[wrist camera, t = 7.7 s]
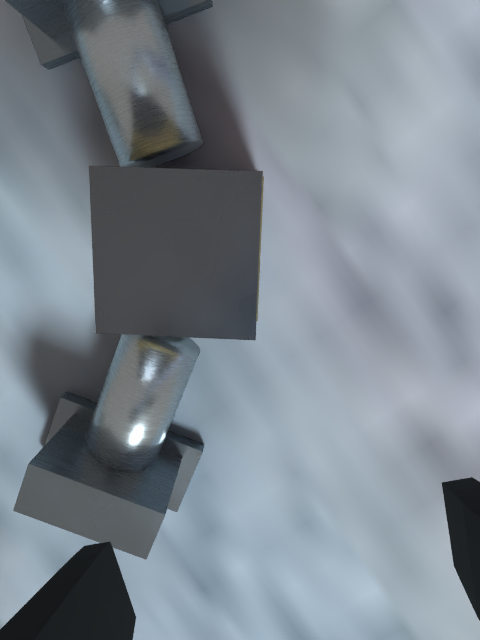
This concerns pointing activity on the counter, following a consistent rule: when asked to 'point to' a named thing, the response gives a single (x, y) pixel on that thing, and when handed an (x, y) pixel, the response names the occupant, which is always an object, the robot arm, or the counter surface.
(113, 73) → the shaft
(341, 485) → the counter surface
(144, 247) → the block
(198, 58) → the counter surface
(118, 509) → the shaft
